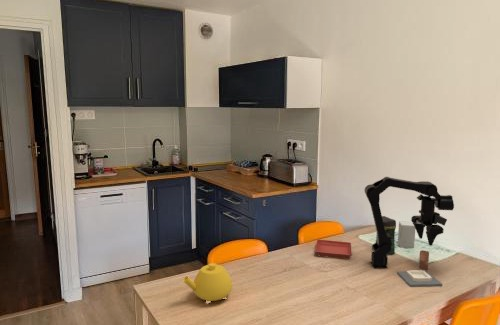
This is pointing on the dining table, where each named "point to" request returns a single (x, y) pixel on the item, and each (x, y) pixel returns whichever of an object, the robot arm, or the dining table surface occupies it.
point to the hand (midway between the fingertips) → (425, 241)
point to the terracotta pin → (423, 260)
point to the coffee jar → (390, 231)
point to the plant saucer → (333, 248)
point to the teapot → (211, 283)
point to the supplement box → (406, 234)
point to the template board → (418, 278)
